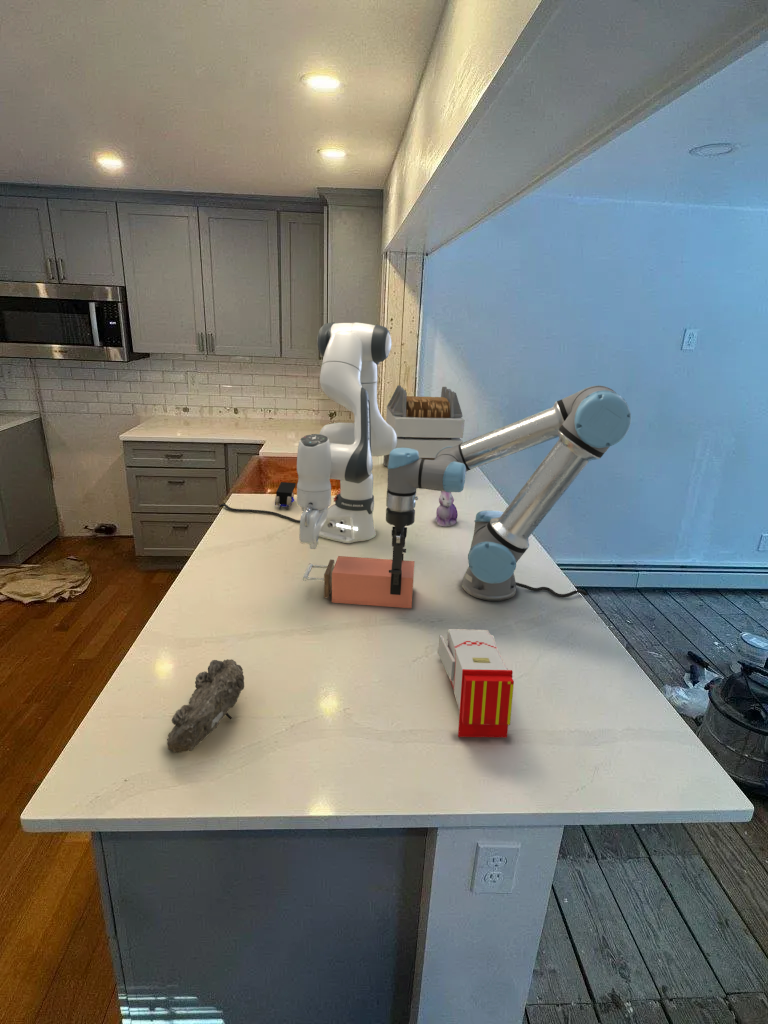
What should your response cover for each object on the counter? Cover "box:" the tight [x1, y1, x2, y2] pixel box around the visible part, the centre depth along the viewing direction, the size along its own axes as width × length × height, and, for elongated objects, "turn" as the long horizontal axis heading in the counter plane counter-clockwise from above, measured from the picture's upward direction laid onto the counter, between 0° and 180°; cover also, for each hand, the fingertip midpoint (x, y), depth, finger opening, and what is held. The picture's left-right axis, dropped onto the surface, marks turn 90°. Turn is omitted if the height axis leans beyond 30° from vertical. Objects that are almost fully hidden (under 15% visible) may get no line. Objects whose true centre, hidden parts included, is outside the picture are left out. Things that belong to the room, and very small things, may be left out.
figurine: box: [434, 491, 459, 527], centre depth 210 cm, size 9×10×15 cm
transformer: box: [383, 384, 465, 468], centre depth 268 cm, size 34×33×41 cm
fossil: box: [166, 658, 245, 754], centre depth 106 cm, size 22×10×15 cm
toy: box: [437, 628, 515, 738], centre depth 117 cm, size 12×13×30 cm
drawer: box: [301, 559, 335, 599], centre depth 155 cm, size 26×10×7 cm, turn 86°
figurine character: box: [274, 481, 297, 510], centre depth 222 cm, size 7×8×15 cm
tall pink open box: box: [331, 555, 415, 609], centre depth 155 cm, size 21×11×9 cm, turn 86°
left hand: (313, 546), depth 152 cm, fingers closed
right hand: (396, 584), depth 154 cm, fingers closed on tall pink open box, 11 cm apart
